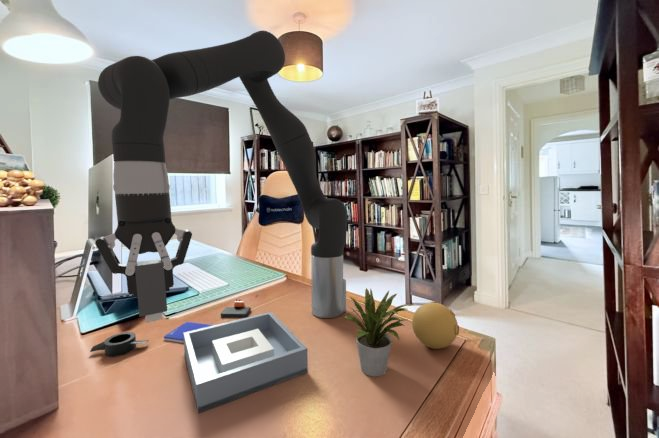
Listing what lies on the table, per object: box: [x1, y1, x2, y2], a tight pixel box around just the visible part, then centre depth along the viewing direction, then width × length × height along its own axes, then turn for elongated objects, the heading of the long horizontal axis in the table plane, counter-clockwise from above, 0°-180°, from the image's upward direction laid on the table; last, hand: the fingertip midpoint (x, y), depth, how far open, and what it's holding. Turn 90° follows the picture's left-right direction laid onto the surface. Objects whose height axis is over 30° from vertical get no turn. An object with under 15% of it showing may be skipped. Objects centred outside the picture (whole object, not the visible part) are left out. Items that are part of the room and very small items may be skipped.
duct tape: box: [90, 331, 150, 358], centre depth 66 cm, size 8×10×3 cm
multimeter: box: [220, 293, 258, 319], centre depth 91 cm, size 18×12×3 cm, turn 174°
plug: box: [135, 258, 168, 324], centre depth 50 cm, size 4×3×10 cm
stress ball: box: [411, 302, 460, 350], centre depth 67 cm, size 10×10×10 cm
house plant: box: [344, 287, 414, 377], centre depth 57 cm, size 14×14×16 cm
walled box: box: [183, 311, 309, 414], centre depth 61 cm, size 20×20×5 cm
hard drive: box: [163, 321, 213, 344], centre depth 73 cm, size 2×8×12 cm
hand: (151, 292), depth 50 cm, fingers closed on plug, 4 cm apart
